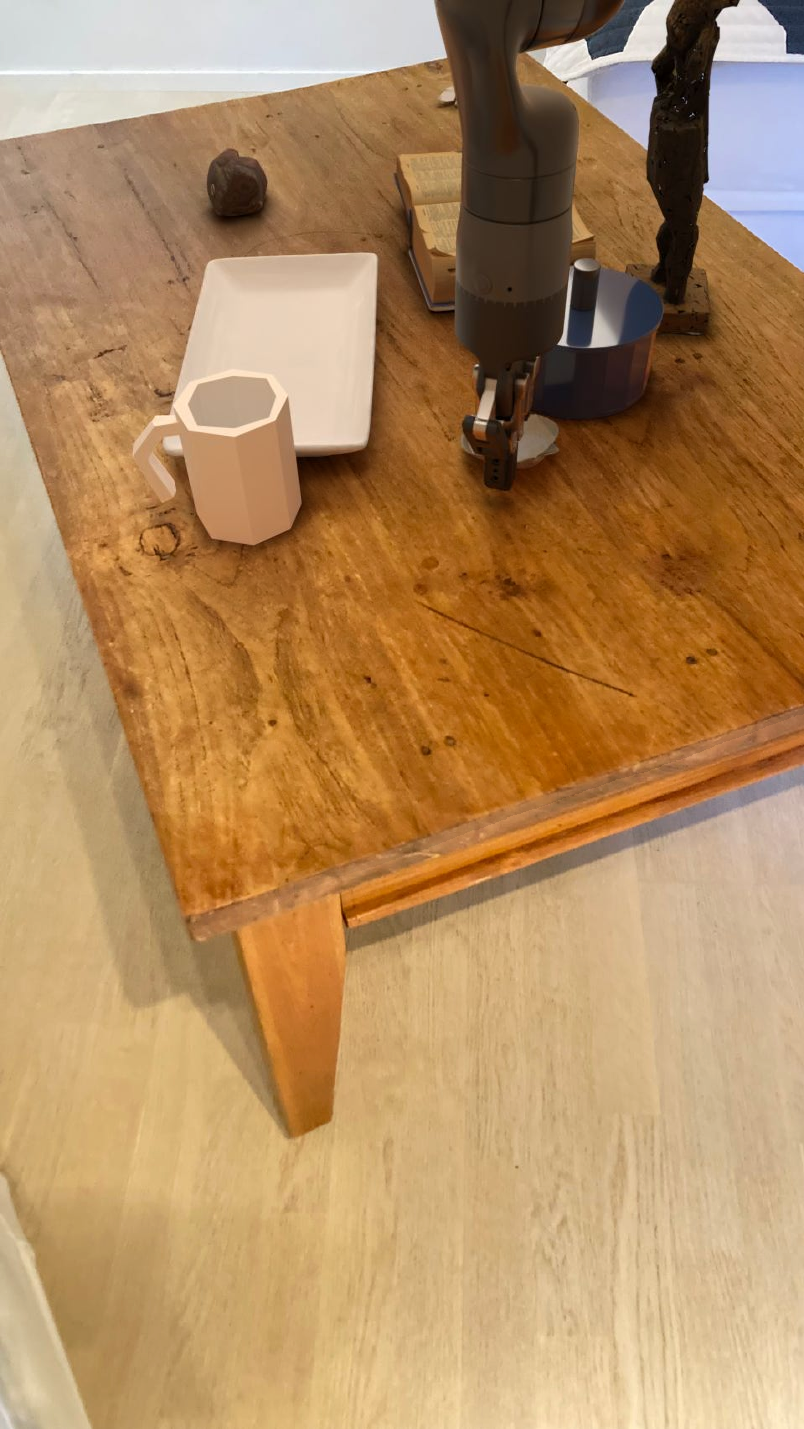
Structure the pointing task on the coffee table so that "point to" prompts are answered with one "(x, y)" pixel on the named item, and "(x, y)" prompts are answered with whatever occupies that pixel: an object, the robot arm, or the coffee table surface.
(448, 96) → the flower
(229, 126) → the coffee table surface
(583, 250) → the book
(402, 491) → the coffee table surface
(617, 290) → the pot lid
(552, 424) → the seashell
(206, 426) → the mug
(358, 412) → the white slab
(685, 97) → the sculpture
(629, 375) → the pot
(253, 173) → the dark brown rock
